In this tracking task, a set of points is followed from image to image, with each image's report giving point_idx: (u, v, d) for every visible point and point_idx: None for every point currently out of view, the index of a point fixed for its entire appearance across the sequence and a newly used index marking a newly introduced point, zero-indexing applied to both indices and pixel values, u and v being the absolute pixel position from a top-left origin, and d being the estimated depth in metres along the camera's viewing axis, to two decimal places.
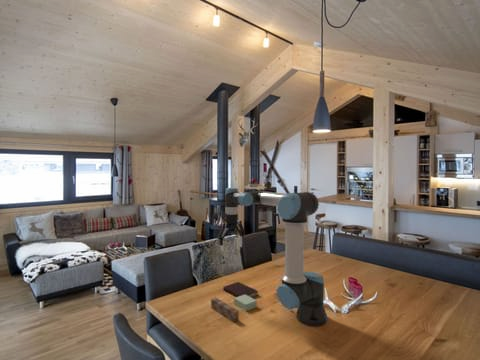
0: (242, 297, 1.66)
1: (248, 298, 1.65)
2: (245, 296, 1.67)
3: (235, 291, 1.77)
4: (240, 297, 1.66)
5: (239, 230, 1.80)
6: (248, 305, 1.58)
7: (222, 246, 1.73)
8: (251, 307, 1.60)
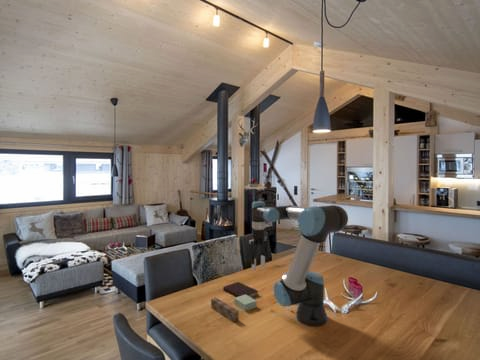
0: (242, 297, 1.66)
1: (248, 298, 1.65)
2: (245, 296, 1.67)
3: (235, 291, 1.77)
4: (241, 297, 1.66)
5: (264, 248, 1.70)
6: (247, 305, 1.58)
7: (253, 265, 1.66)
8: (251, 307, 1.59)
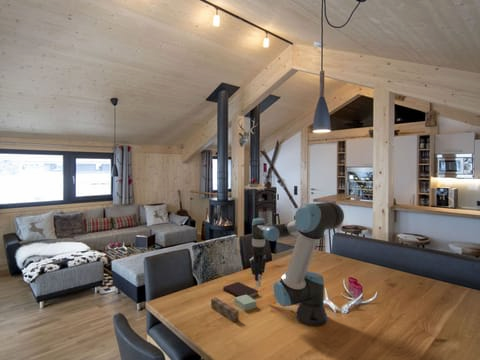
0: (243, 297, 1.66)
1: (248, 298, 1.65)
2: (246, 296, 1.67)
3: (235, 291, 1.77)
4: (241, 297, 1.66)
5: (261, 266, 1.69)
6: (247, 305, 1.58)
7: (257, 281, 1.69)
8: (250, 307, 1.59)
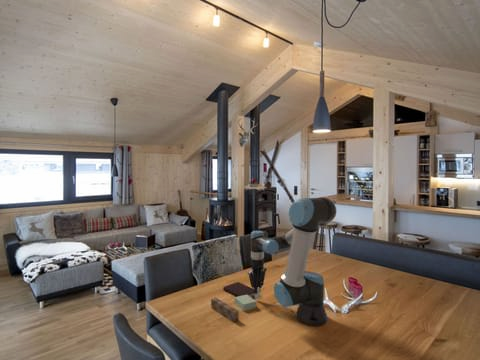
0: (243, 297, 1.66)
1: (248, 298, 1.64)
2: (246, 296, 1.67)
3: (235, 291, 1.77)
4: (241, 297, 1.66)
5: (260, 279, 1.69)
6: (246, 305, 1.58)
7: (256, 294, 1.68)
8: (250, 307, 1.59)
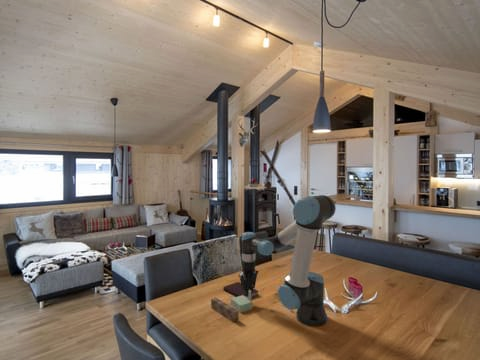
0: (239, 298, 1.65)
1: (245, 299, 1.63)
2: (242, 297, 1.66)
3: (235, 291, 1.77)
4: (237, 298, 1.65)
5: (251, 281, 1.65)
6: (243, 306, 1.57)
7: (248, 297, 1.64)
8: (246, 308, 1.58)
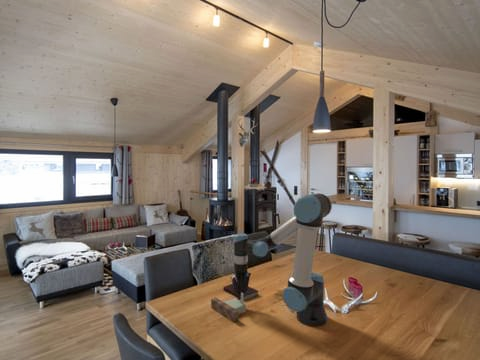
0: (231, 301, 1.61)
1: (237, 302, 1.60)
2: (234, 300, 1.62)
3: None
4: (229, 301, 1.61)
5: (244, 284, 1.61)
6: (237, 309, 1.53)
7: (240, 300, 1.61)
8: (240, 311, 1.55)
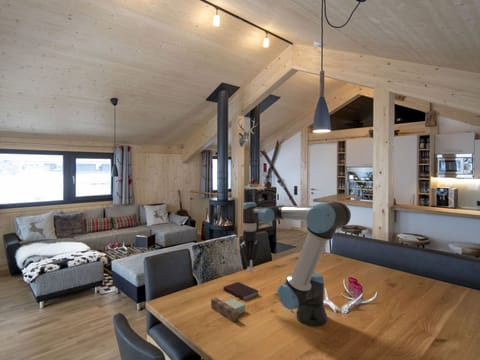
0: (230, 301, 1.60)
1: (236, 302, 1.60)
2: (233, 300, 1.62)
3: (235, 291, 1.77)
4: (228, 301, 1.60)
5: (253, 251, 1.64)
6: None
7: (249, 267, 1.64)
8: (240, 311, 1.55)
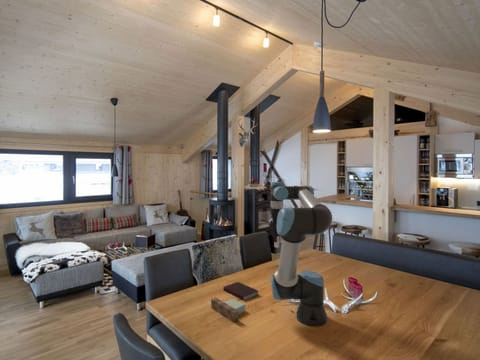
0: (230, 302, 1.60)
1: (236, 302, 1.60)
2: (232, 300, 1.62)
3: (235, 291, 1.77)
4: (228, 302, 1.60)
5: None
6: (237, 309, 1.53)
7: (276, 243, 1.75)
8: (240, 311, 1.55)
